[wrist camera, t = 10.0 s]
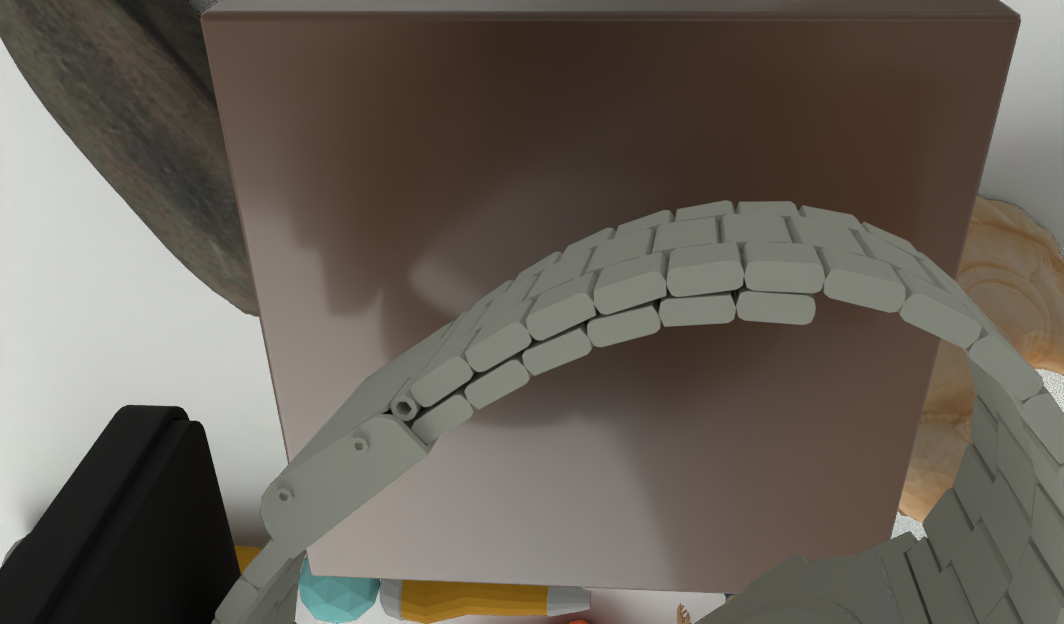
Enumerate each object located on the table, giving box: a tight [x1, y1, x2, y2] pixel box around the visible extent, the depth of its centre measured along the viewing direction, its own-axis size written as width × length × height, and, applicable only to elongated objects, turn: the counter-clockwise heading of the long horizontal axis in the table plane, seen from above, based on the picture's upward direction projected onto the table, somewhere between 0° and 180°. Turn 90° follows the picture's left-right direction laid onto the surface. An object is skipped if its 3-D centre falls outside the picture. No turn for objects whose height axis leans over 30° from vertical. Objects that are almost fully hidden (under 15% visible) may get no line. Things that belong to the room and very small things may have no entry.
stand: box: [200, 0, 1021, 594], centre depth 23 cm, size 9×9×24 cm
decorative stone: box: [0, 0, 259, 316], centre depth 35 cm, size 17×6×4 cm, turn 28°
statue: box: [898, 195, 1064, 523], centre depth 35 cm, size 12×14×10 cm
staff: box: [2, 538, 591, 624], centre depth 48 cm, size 4×4×30 cm
